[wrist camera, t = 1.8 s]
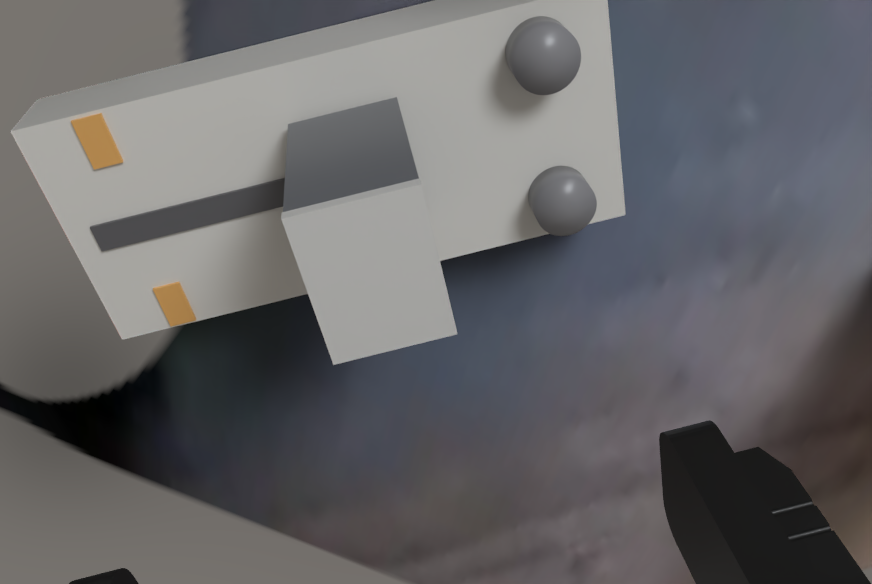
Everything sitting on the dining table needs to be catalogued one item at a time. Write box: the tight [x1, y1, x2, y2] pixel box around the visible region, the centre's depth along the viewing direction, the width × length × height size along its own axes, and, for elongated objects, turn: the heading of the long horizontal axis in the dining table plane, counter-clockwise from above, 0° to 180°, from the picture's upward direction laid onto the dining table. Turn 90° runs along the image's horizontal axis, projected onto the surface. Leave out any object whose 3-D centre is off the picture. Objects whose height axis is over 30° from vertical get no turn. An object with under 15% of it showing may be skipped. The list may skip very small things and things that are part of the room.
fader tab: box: [281, 97, 457, 365], centre depth 20 cm, size 3×4×6 cm
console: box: [10, 0, 625, 340], centre depth 24 cm, size 16×7×4 cm, turn 102°
